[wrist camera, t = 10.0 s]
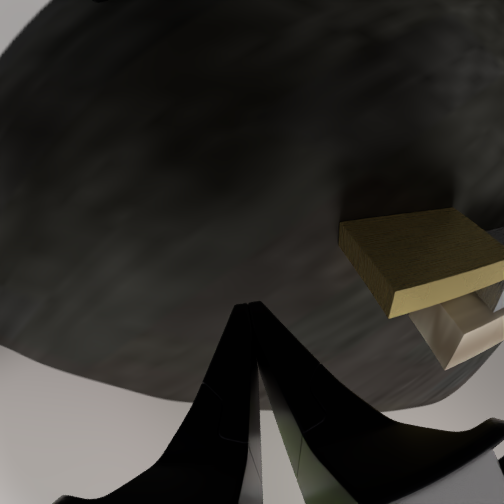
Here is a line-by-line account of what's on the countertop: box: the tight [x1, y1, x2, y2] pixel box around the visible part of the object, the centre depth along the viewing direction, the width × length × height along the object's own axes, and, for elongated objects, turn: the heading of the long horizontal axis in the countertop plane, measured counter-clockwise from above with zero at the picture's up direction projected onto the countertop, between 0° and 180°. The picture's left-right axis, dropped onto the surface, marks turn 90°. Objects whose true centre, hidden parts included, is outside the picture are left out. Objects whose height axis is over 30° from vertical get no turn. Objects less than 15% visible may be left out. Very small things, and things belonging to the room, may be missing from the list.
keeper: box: [339, 207, 504, 319], centre depth 11 cm, size 1×7×5 cm, turn 96°
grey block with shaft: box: [475, 227, 504, 313], centre depth 15 cm, size 9×7×5 cm
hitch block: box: [408, 291, 504, 370], centre depth 15 cm, size 3×12×5 cm, turn 96°
